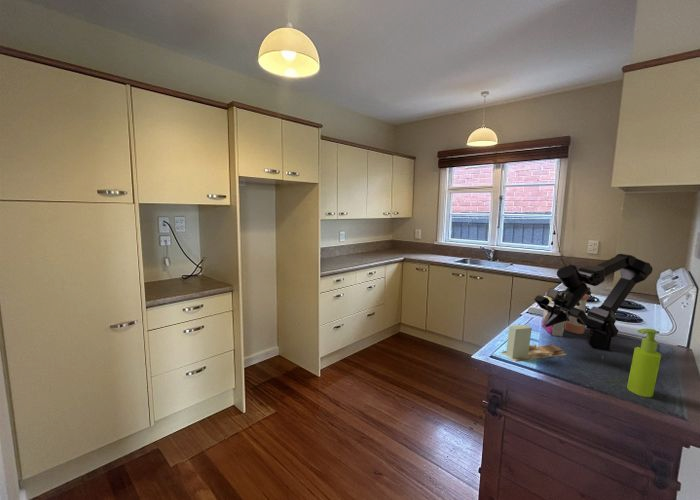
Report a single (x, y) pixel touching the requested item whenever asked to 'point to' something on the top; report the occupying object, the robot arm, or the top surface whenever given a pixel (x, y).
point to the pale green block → (518, 341)
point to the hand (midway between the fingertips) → (545, 326)
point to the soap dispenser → (644, 365)
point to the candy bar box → (556, 328)
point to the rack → (539, 352)
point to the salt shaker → (573, 324)
